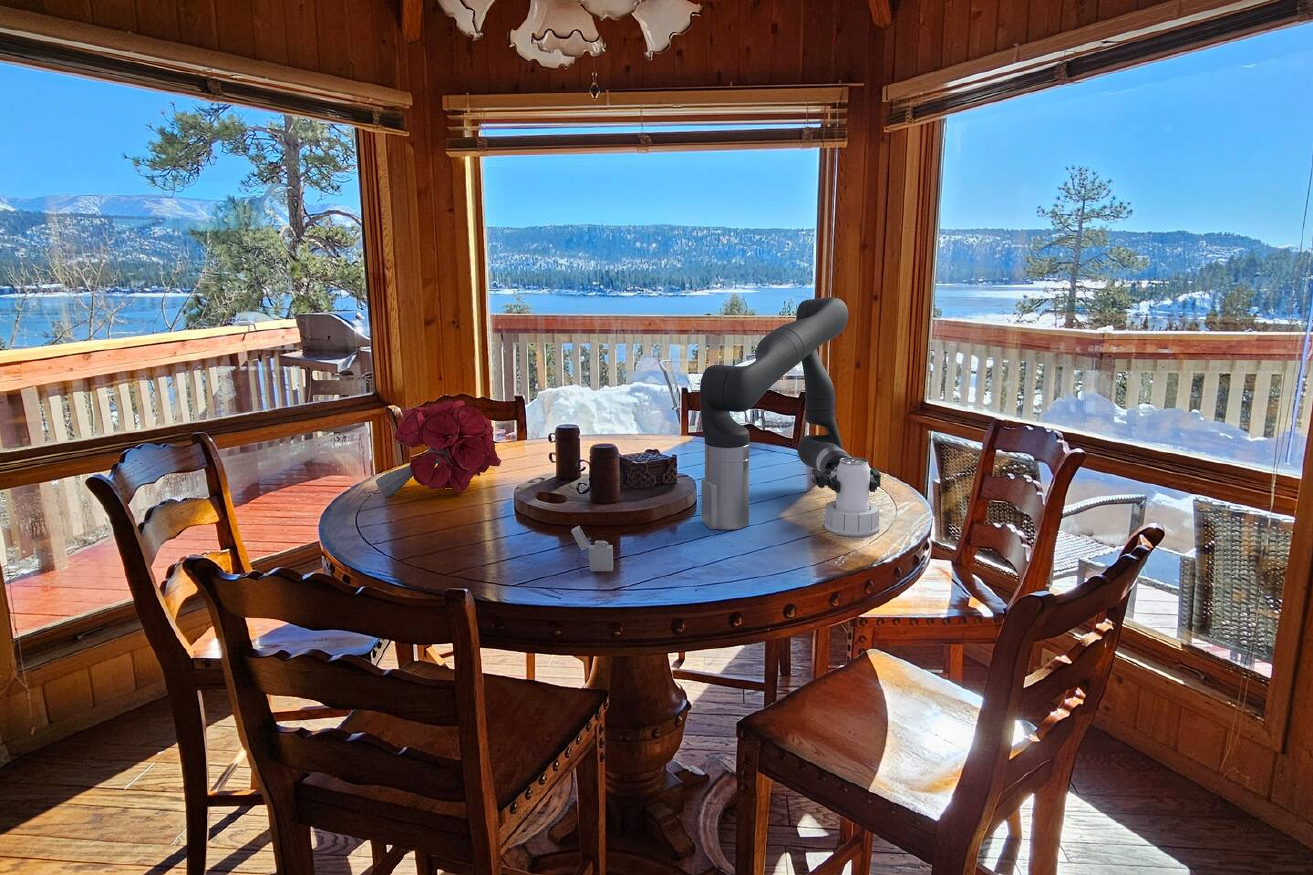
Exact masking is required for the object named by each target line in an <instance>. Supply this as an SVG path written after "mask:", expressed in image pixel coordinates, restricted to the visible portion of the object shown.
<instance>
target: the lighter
mask: <svg viewBox="0 0 1313 875" xmlns="http://www.w3.org/2000/svg"><path fill="white" fill-rule="evenodd" d="M570 532H571V534H572V536H573V537H574V539H575V541H576V543H577V545H578V546H579V548H580V550H581V551H582V552H583V551H586V550H588V563H589V564H588V565H589V567H588V568H589V571H590V570H591V571H590V572H613V571H614V548H613V546H614V545H612V544H609V542H608V541H606V540H595V541H594V544H593V545H592V544H590V543H589V541H588V539H587V537H586V535H585V534H584V531H583V530H582V528H581V526H580V525H577V526H575V527H574V528H572V529H571V531H570Z"/></svg>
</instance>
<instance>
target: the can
mask: <svg viewBox="0 0 1313 875" xmlns="http://www.w3.org/2000/svg"><path fill="white" fill-rule="evenodd" d="M870 470H871V467H870V465H869V460H867V458H861V457H857V456H856V457H852V456H851V457H848V458H842V459H840V463H839V465H838V467H837V480H838V481H839V482H840V493H836V492H835V493H836V494H835V501H836V510H839V511H844V512H852V513H860V512H867V511H868V510H869V502H870V491H869V486H870Z"/></svg>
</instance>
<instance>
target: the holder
mask: <svg viewBox="0 0 1313 875" xmlns="http://www.w3.org/2000/svg"><path fill="white" fill-rule="evenodd" d="M824 506H825V508H824V521H823V522H824V523H823V528H824V530H825V531H827V532H828V533H831V534H833V535H837V536H840V537H841V536H842V537H851V538H864V537H870V536H874V535H876V534H878V533H879V532H880V506H879V505H877V504H875V503H873V502H870V501H869V510H868V511H867V512H860V513H852V512H844V511H839V510H836V500H832V501H829V502H827V503H825V505H824Z"/></svg>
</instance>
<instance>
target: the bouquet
mask: <svg viewBox="0 0 1313 875" xmlns="http://www.w3.org/2000/svg"><path fill="white" fill-rule="evenodd" d="M394 439H395V440H396V441H395V442H396V443H397V444H399V445H400V446H407V447H409V448H419V447H422V446H423V445H425V447H429V448H428V450H427V451H426V452H421V454H422V455H418V456H417V457H416V458H412V459H411V461H410V463H409V465H407V466H403V467H402V468H397V469H395V470H392V471H390V472H388V473H385V474H383V475H381V476H379V477H378V478H377V479H375V484H376V486H377V488H378V490H379V491H380V493H382V495H383V496H385V497H386V498H390V497H392V496H393V495H395V494H396V493H398V492H399V491H400V490H401V489H402V488H403V487H404V486H405V485H406V484H407V483H408V482H409V481H410V480H411V479H412V478H413V480H414V481H415V482H416V483H417V484H419V485H421V486H422V487H428V489H429V490H440V489H441V488H442V489H441V490H446V489H445V488H454V489H453V490H454V491H455V492H456V494H457V495H459V494H460V495H459V496H462V494H463V492H464V491H466V490H467V489H468V488H469V486H470V484H471V480H472V479H473V478H474V476H477V477H481V474H483V473H487V471H488V470H489V468H490V467H496V468H497V467H500V466H501V464H502V460H501V459H500V458H499V457H498V453H497V452H496V444H495V441H494V426H493V425H492V422H491V421H490V420H489V418H487V417H486V416H485V414H484V415H483V414H482V413H481V411H480V410H479V409H478V408H476V407H475V406H473V405H467V404H466V403H465V401H464V400H457V401H454V400H447V401H443V402H441V403H432V404H431V406H426V407H424V406H423V407H422V406H421V407H418V406H417V407H412V408H410V409H409V410H407V411H406V412H404V413H403V415H402V418H400V419H399V421H398V425H397V428H396V430H395V434H394ZM462 491H463V492H462ZM391 495H392V496H391ZM389 496H390V497H389Z"/></svg>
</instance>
